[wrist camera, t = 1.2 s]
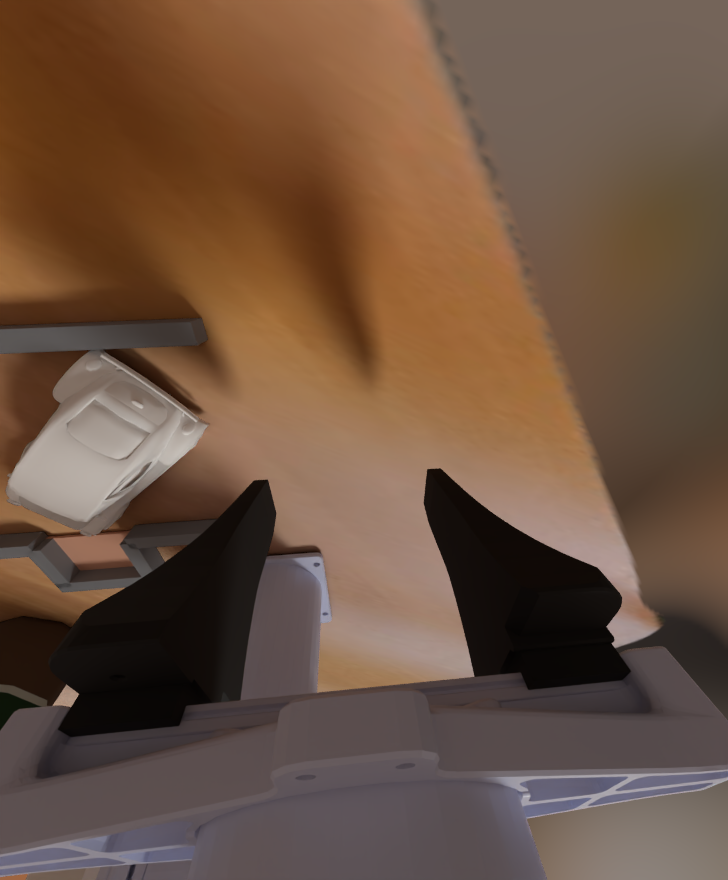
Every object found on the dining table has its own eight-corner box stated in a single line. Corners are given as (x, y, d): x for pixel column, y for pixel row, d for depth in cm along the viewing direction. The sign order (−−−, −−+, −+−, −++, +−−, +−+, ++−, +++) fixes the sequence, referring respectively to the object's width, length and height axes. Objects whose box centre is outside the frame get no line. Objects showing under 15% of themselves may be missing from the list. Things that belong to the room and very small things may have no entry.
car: (110, 333, 14) (20, 358, 10) (222, 415, 17) (185, 461, 13) (18, 475, 18) (-77, 535, 14) (122, 524, 20) (68, 587, 16)
